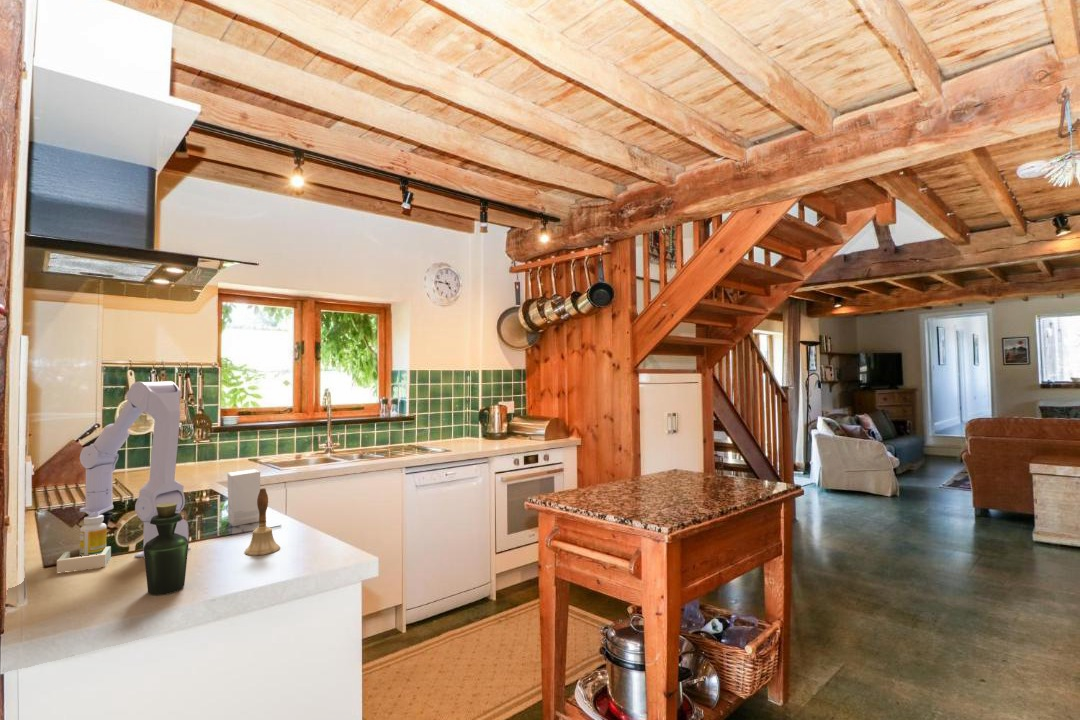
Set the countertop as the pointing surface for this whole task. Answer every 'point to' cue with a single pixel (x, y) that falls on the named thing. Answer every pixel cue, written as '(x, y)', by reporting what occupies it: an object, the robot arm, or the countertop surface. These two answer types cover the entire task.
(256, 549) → the hand bell
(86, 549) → the supplement bottle
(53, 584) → the countertop surface
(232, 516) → the skincare box
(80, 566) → the tray
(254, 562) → the countertop surface
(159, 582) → the potion bottle
